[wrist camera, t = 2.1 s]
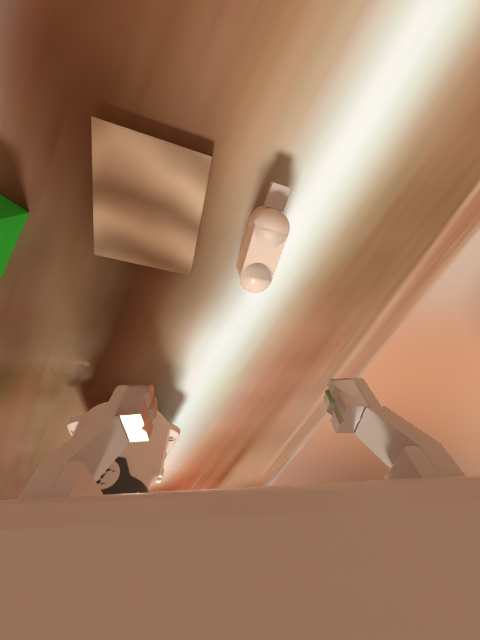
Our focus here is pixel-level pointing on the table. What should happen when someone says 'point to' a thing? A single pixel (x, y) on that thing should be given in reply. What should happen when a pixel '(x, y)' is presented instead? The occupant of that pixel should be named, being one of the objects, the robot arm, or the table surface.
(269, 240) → the connector
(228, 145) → the table surface
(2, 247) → the mechanical part
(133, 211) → the birch board
